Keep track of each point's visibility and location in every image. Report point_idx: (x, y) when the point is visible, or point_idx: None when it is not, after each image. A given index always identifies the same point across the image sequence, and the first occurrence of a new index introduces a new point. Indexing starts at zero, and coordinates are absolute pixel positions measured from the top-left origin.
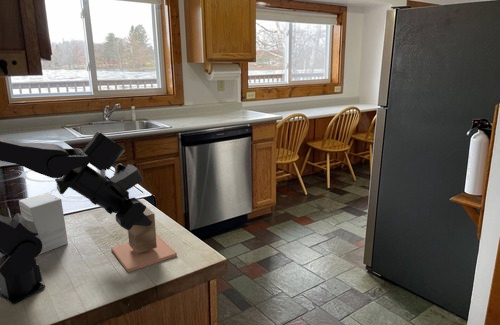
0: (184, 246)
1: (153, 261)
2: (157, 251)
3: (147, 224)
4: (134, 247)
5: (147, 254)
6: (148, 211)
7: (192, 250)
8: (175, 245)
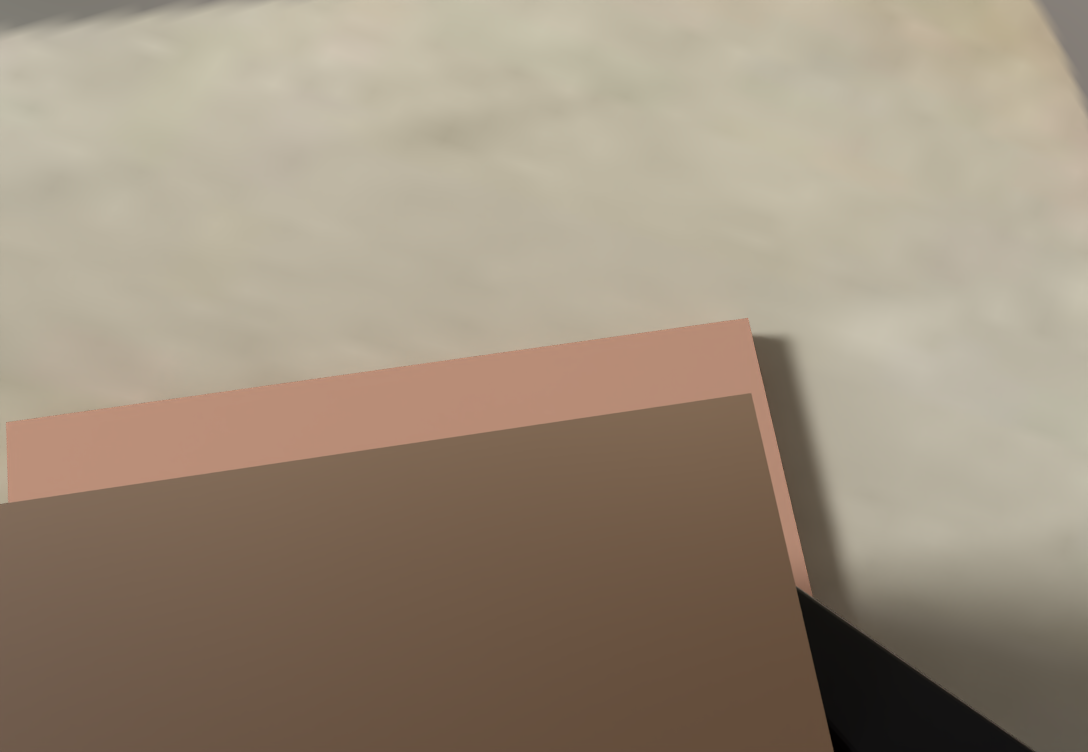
0: (531, 169)
1: None
2: None
3: None
4: None
5: None
6: (450, 560)
7: (682, 118)
8: (444, 264)
